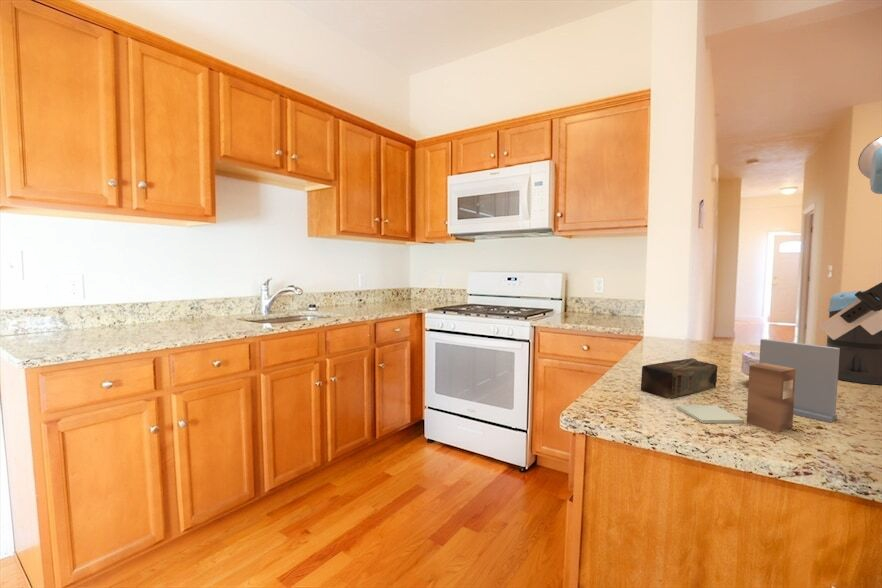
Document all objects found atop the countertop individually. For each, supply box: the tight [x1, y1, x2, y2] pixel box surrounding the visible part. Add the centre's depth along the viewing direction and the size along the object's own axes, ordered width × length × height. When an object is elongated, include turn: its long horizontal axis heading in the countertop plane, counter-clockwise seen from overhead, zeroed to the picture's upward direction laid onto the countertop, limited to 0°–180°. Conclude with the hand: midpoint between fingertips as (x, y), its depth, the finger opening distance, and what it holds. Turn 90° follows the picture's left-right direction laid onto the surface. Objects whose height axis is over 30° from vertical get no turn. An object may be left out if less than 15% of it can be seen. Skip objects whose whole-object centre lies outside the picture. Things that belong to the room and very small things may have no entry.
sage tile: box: [676, 404, 745, 424], centre depth 80 cm, size 8×8×1 cm
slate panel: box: [759, 338, 840, 423], centre depth 82 cm, size 12×4×14 cm, turn 33°
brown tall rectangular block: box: [746, 363, 796, 433], centre depth 75 cm, size 5×5×11 cm
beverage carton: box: [640, 357, 718, 399], centre depth 97 cm, size 8×19×7 cm, turn 118°
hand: (846, 330), depth 66 cm, fingers open, 13 cm apart
